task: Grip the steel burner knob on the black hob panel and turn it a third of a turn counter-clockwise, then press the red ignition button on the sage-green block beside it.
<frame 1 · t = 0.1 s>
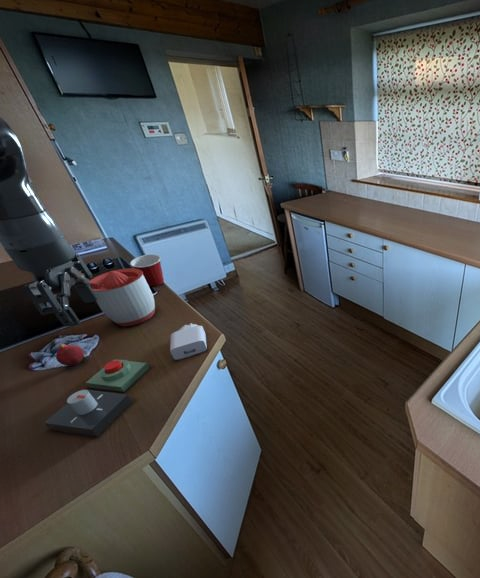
hand: (82, 312, 60), 32 cm above the worktop, tool pointing down, fingers open, 8 cm apart
citrus juicer: (134, 318, 110), on the worktop
plastic cup: (156, 283, 132), on the worktop
red round fruit: (77, 364, 91), on the worktop
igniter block: (120, 377, 86), on the worktop
burner knob: (82, 401, 73), point 5 cm above the worktop, hinge at 0.0°
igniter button: (113, 366, 84), point 4 cm above the worktop, slide at 0.1 cm
hob panel: (93, 415, 76), on the worktop
charger: (191, 342, 100), on the worktop
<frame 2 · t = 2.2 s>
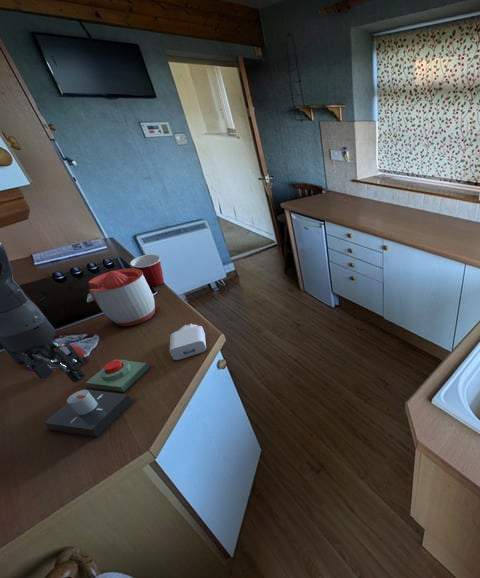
hand: (63, 377, 68), 14 cm above the worktop, tool pointing down, fingers open, 8 cm apart
nothing on the worktop moved.
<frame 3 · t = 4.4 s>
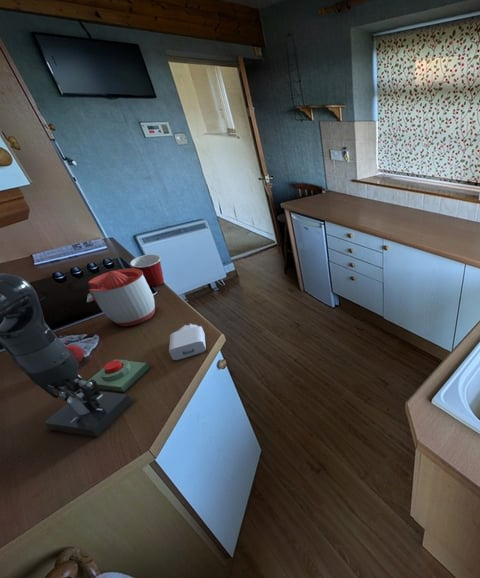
hand: (87, 407, 74), 3 cm above the worktop, tool pointing down, fingers closed on burner knob, 4 cm apart
burner knob: (82, 401, 73), point 5 cm above the worktop, hinge at 0.0°, touching gripper
everything else where it was.
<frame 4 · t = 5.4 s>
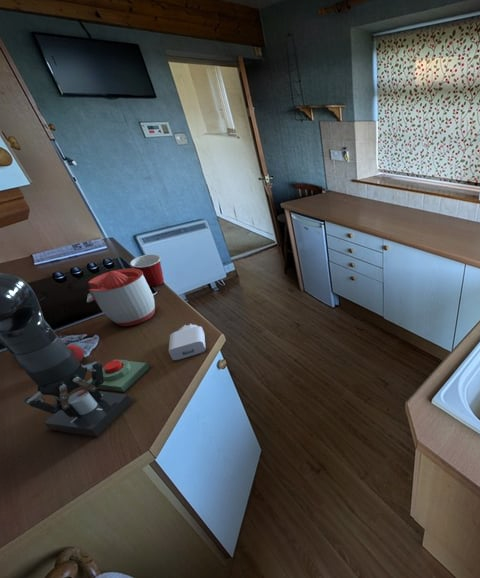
hand: (86, 407, 74), 3 cm above the worktop, tool pointing down, fingers closed on burner knob, 4 cm apart
burner knob: (82, 401, 73), point 5 cm above the worktop, hinge at 72.6°, touching gripper
everything else where it was.
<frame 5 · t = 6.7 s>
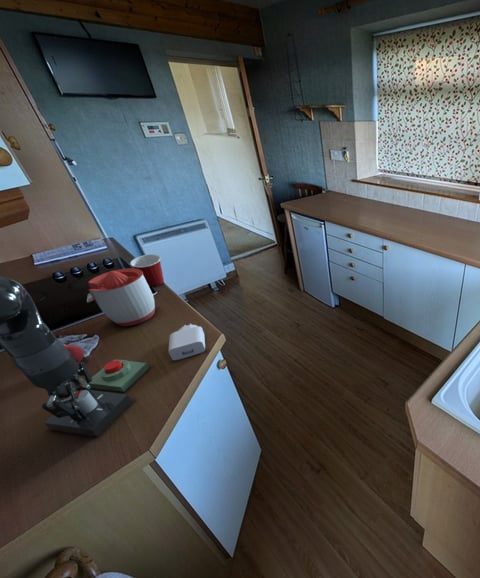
hand: (86, 409, 74), 3 cm above the worktop, tool pointing down, fingers open, 5 cm apart
burner knob: (82, 401, 73), point 5 cm above the worktop, hinge at 121.1°, touching gripper
everything else where it was.
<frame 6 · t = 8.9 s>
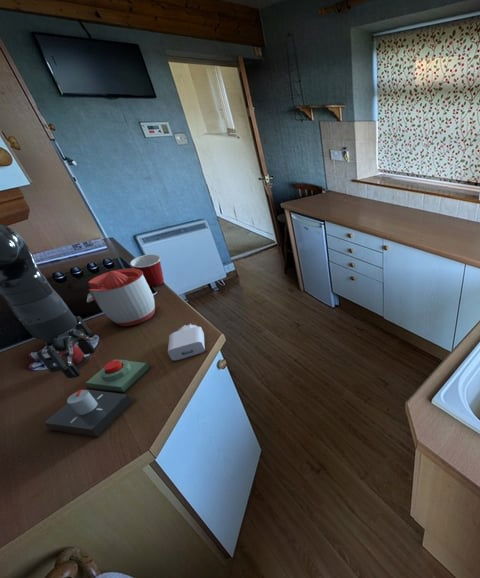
hand: (83, 364, 74), 13 cm above the worktop, tool pointing down, fingers open, 8 cm apart
burner knob: (82, 401, 73), point 5 cm above the worktop, hinge at 121.1°
everything else where it was.
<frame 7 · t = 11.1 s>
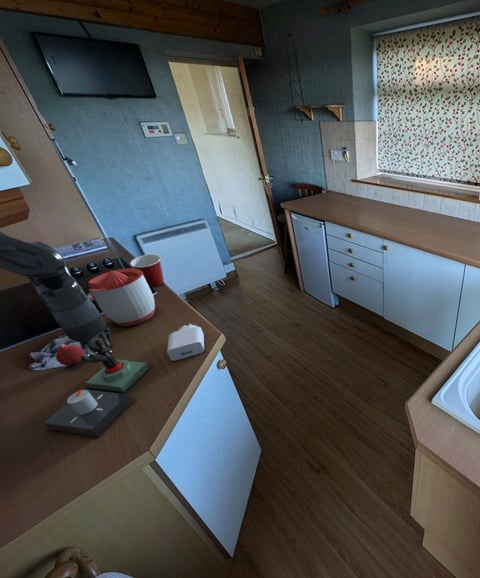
hand: (112, 365, 83), 5 cm above the worktop, tool pointing down, fingers closed
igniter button: (113, 367, 84), point 4 cm above the worktop, slide at -0.2 cm, touching gripper
everything else where it was.
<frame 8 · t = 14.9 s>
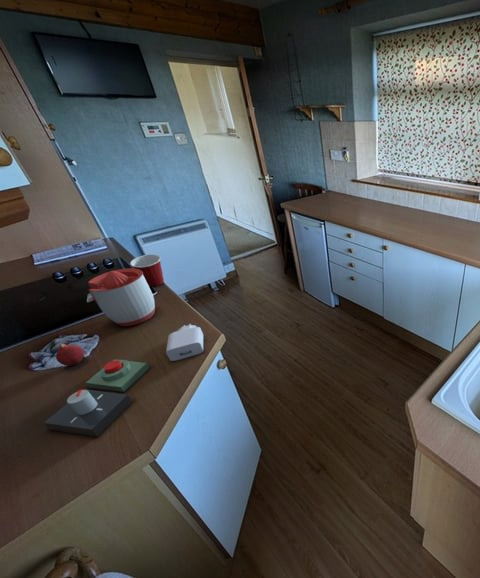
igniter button: (113, 366, 84), point 4 cm above the worktop, slide at 0.1 cm
everything else where it was.
at the end: burner knob at +121° (first picture: +0°); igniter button pushed in 1.1 cm at the most during the clip, back to where it started at the end; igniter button slide at 0.1 cm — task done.
